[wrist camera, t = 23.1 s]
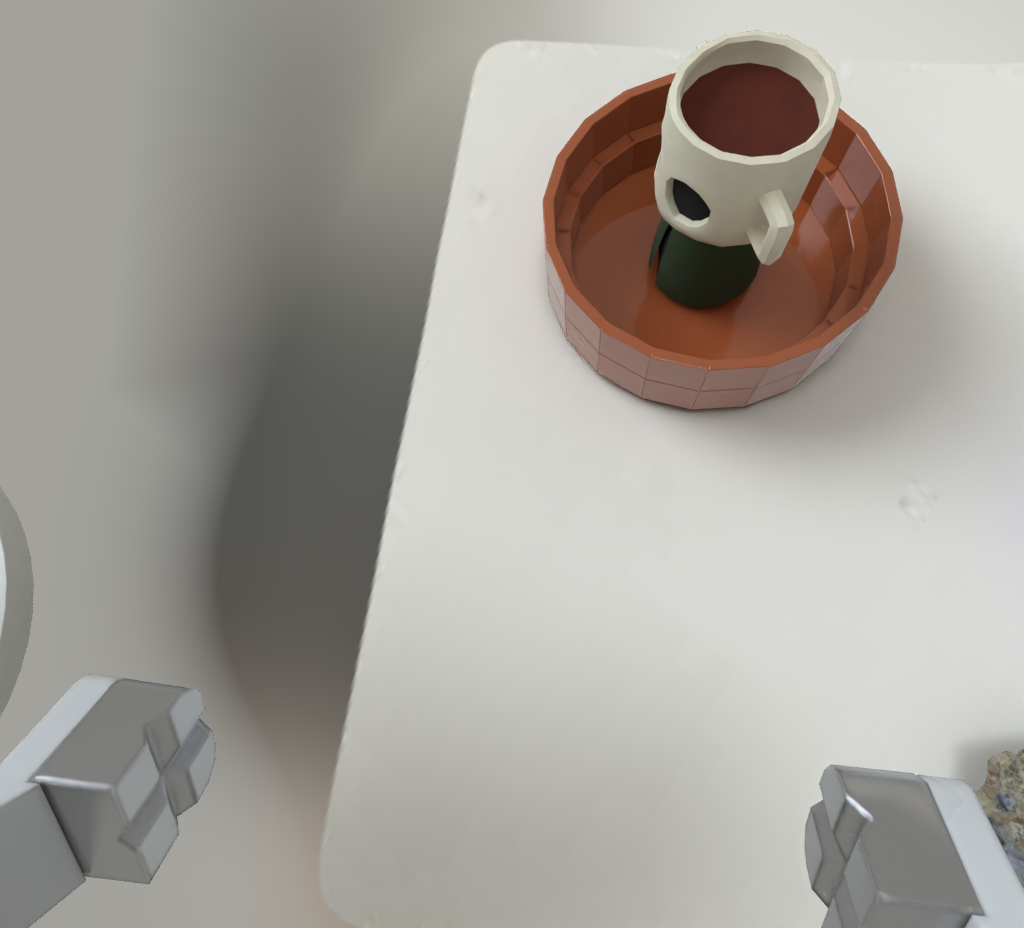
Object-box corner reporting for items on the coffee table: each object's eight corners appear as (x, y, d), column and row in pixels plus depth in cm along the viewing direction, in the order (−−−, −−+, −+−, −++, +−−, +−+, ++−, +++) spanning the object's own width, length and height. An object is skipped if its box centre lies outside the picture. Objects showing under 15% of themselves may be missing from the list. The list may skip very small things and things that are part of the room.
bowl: (512, 372, 41) (502, 324, 36) (589, 125, 46) (591, 47, 40) (828, 446, 38) (872, 406, 33) (877, 174, 43) (923, 97, 37)
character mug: (616, 208, 43) (631, 22, 31) (727, 177, 43) (787, -22, 31) (673, 362, 40) (716, 224, 28) (793, 329, 40) (890, 175, 27)
